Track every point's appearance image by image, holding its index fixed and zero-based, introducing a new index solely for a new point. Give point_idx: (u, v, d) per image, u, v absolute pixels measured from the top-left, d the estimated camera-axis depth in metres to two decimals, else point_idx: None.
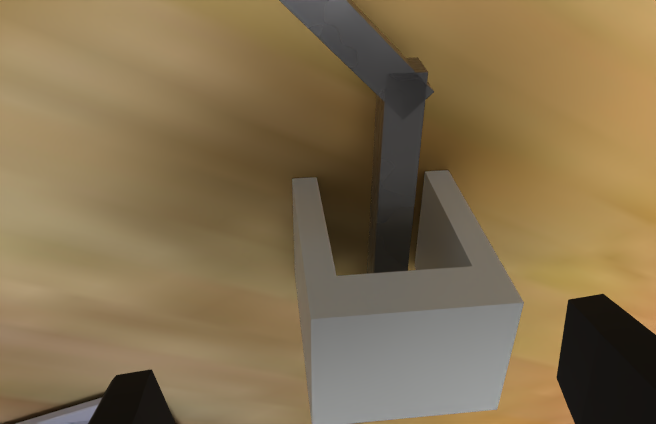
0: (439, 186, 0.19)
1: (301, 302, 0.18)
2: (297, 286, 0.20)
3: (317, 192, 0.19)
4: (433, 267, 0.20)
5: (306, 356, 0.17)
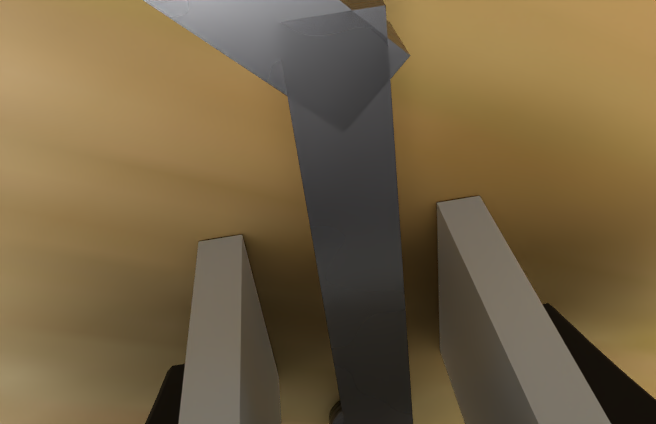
0: (464, 232, 0.10)
1: None
2: None
3: (237, 267, 0.10)
4: (468, 377, 0.11)
5: None
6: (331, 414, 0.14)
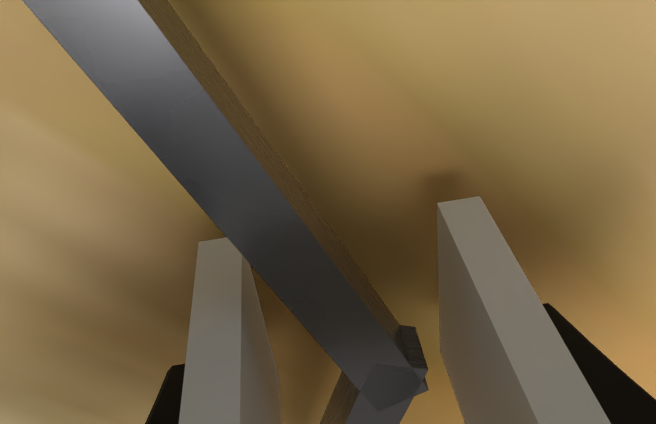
0: (464, 233, 0.10)
1: None
2: None
3: (238, 268, 0.10)
4: (468, 377, 0.11)
5: None
6: None
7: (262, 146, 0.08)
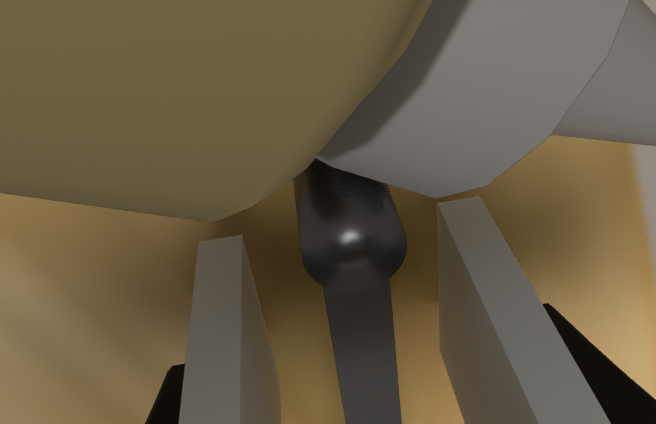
0: (464, 233, 0.10)
1: None
2: None
3: (238, 268, 0.10)
4: (468, 377, 0.11)
5: None
6: None
7: None
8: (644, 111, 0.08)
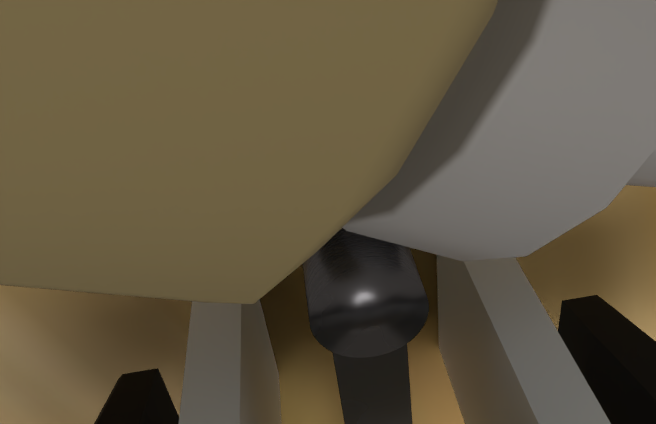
0: None
1: None
2: None
3: None
4: (466, 373, 0.11)
5: None
6: None
7: None
8: None
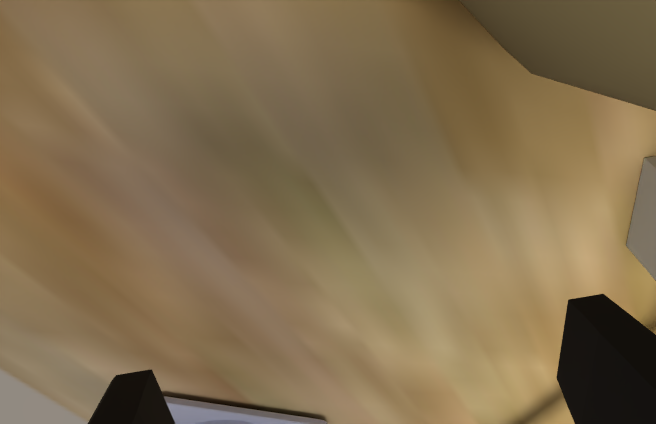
0: None
1: None
2: (648, 255, 0.22)
3: None
4: None
5: None
6: None
7: None
8: None
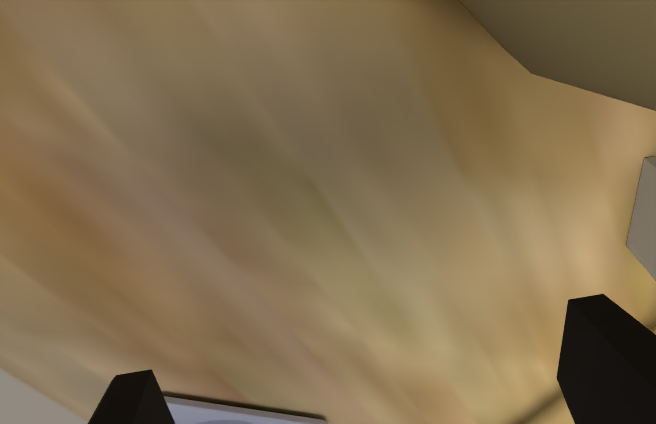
0: None
1: None
2: (648, 255, 0.22)
3: None
4: None
5: None
6: None
7: None
8: None
